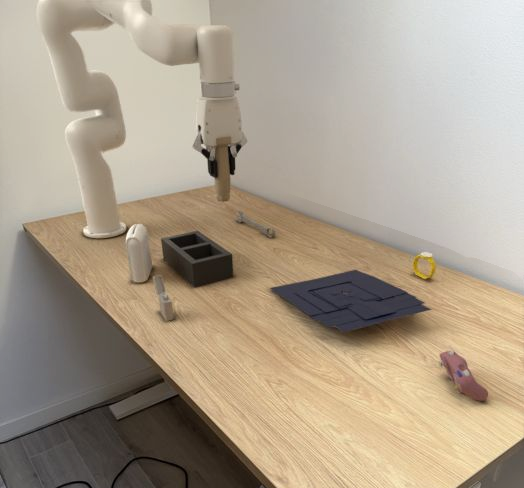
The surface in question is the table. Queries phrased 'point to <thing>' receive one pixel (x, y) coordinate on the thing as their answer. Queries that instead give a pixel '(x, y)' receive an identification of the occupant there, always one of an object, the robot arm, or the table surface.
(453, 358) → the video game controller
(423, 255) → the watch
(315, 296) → the navy flat block
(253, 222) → the combination wrench
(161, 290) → the lighter
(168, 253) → the holder
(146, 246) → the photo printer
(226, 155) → the handle
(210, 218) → the table surface
